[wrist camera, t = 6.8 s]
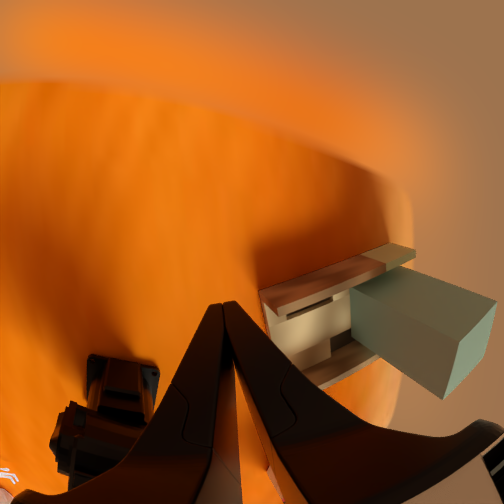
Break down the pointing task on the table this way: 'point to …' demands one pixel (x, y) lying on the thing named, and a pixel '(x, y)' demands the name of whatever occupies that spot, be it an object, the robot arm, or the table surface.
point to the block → (422, 326)
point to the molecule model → (3, 499)
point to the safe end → (391, 255)
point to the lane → (320, 320)
